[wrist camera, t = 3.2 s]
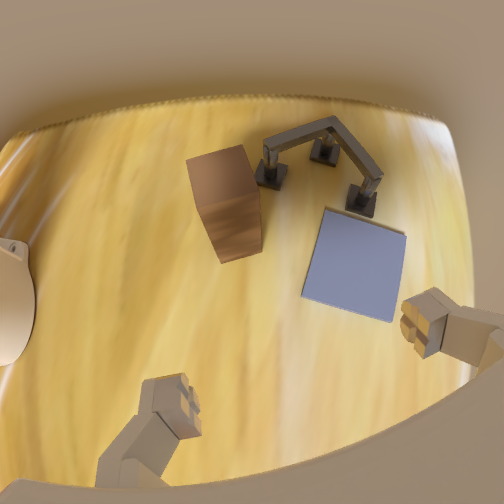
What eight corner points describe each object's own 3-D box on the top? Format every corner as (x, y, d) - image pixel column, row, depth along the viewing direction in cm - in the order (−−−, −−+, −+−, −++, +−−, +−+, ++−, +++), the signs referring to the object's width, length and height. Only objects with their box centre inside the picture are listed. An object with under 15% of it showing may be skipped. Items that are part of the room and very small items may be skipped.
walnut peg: (221, 264, 28) (196, 208, 18) (211, 227, 30) (185, 160, 20) (261, 252, 29) (259, 190, 18) (250, 215, 30) (242, 144, 20)
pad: (301, 296, 27) (301, 295, 27) (324, 212, 30) (325, 209, 29) (389, 322, 26) (392, 321, 25) (404, 238, 29) (406, 236, 28)
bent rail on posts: (252, 183, 31) (250, 150, 26) (274, 131, 34) (274, 96, 29) (371, 218, 29) (390, 190, 24) (379, 161, 32) (394, 130, 27)
